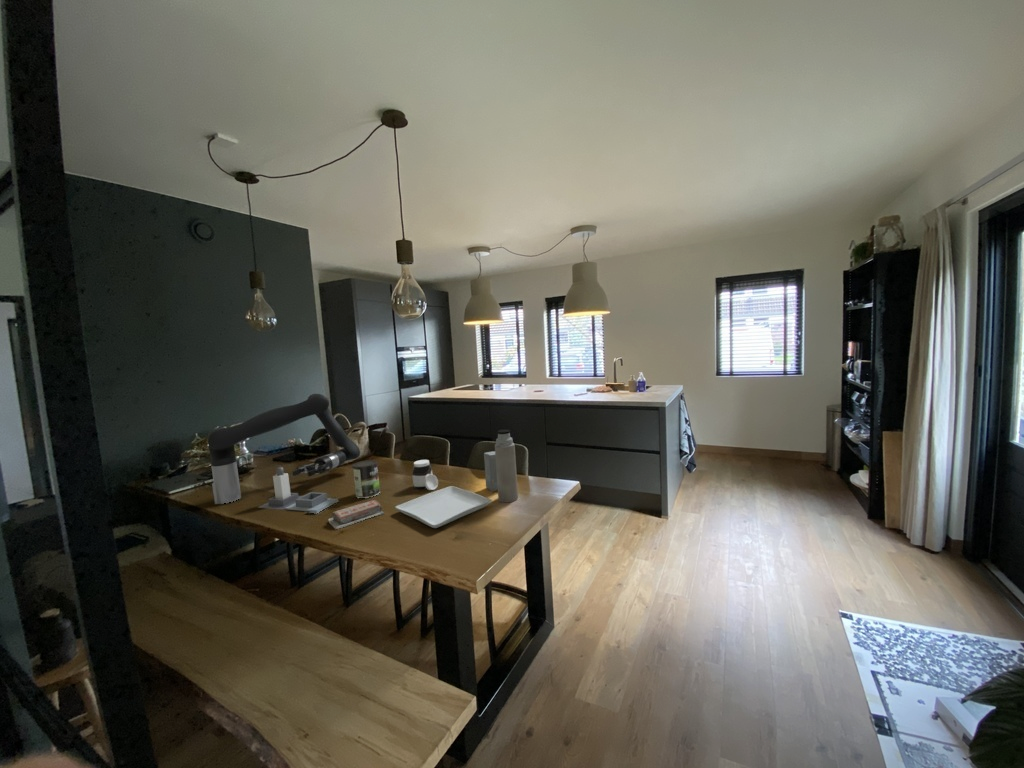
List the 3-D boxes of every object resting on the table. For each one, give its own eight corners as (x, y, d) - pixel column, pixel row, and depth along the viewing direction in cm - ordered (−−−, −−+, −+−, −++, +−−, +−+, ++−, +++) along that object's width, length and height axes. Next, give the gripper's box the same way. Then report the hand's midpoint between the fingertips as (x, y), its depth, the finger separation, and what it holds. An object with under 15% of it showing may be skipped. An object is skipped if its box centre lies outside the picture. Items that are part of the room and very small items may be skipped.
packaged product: (373, 496, 163) (383, 503, 156) (374, 508, 164) (384, 515, 156) (326, 510, 152) (334, 518, 144) (328, 523, 152) (336, 531, 145)
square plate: (451, 493, 175) (451, 484, 174) (494, 508, 155) (493, 499, 155) (394, 514, 156) (393, 504, 156) (434, 535, 136) (433, 524, 136)
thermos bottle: (505, 493, 169) (500, 427, 166) (521, 496, 165) (517, 428, 162) (494, 500, 162) (489, 432, 160) (511, 503, 158) (506, 433, 155)
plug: (276, 503, 172) (271, 469, 171) (284, 499, 176) (279, 466, 175) (283, 503, 171) (279, 469, 170) (291, 500, 175) (287, 466, 173)
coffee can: (384, 490, 183) (381, 459, 182) (373, 498, 173) (369, 466, 172) (363, 490, 185) (360, 460, 183) (351, 498, 175) (347, 467, 173)
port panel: (285, 511, 165) (284, 500, 165) (308, 500, 177) (307, 490, 176) (317, 514, 160) (315, 503, 160) (338, 502, 172) (337, 491, 171)
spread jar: (419, 483, 190) (417, 458, 188) (442, 482, 188) (440, 458, 187) (409, 492, 178) (407, 466, 177) (434, 492, 176) (432, 466, 175)
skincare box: (491, 492, 172) (489, 455, 170) (485, 487, 178) (482, 452, 176) (509, 487, 175) (507, 452, 174) (502, 483, 182) (499, 448, 180)
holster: (257, 509, 169) (256, 501, 169) (285, 497, 182) (284, 489, 182) (283, 511, 165) (282, 503, 165) (309, 498, 178) (308, 491, 178)
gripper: (314, 455, 200) (287, 465, 184) (338, 455, 195) (312, 466, 180) (316, 470, 200) (289, 481, 185) (339, 470, 196) (314, 482, 181)
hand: (300, 474), depth 182 cm, fingers open, 8 cm apart
